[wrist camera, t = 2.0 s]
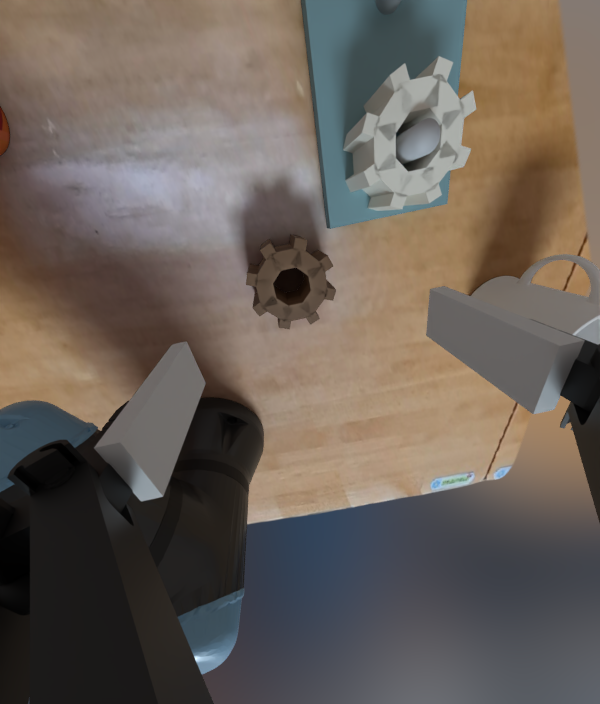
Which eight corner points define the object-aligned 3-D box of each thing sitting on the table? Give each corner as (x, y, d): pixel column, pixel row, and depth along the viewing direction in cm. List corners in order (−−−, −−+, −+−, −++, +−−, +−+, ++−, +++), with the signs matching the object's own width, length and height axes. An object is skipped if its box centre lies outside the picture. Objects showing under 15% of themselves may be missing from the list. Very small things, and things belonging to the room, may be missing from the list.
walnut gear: (261, 318, 30) (260, 335, 25) (241, 244, 26) (235, 250, 21) (328, 303, 30) (339, 318, 25) (318, 228, 26) (329, 230, 21)
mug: (480, 248, 29) (602, 266, 18) (546, 245, 30) (700, 260, 19) (453, 339, 34) (534, 392, 24) (509, 334, 35) (612, 384, 25)
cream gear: (348, 217, 24) (365, 216, 20) (339, 103, 20) (359, 71, 16) (429, 200, 24) (465, 195, 20) (437, 83, 20) (484, 46, 16)
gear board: (327, 228, 26) (347, 231, 19) (291, -84, 16) (307, -283, 10) (438, 204, 26) (495, 199, 19) (464, -117, 17) (591, -334, 10)
